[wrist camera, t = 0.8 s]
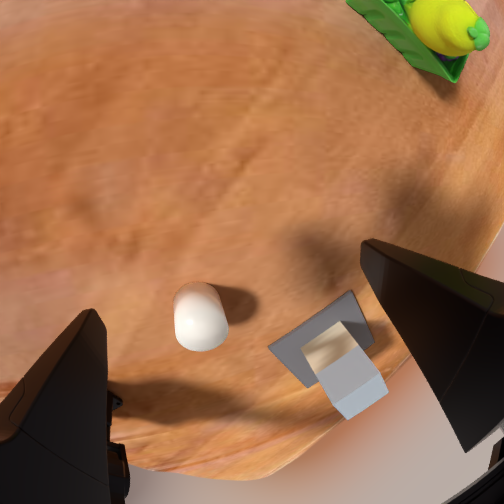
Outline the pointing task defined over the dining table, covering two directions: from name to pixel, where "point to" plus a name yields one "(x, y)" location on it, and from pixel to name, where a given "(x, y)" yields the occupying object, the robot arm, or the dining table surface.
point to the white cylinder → (199, 317)
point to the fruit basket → (428, 31)
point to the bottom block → (328, 347)
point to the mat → (337, 311)
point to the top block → (352, 383)
